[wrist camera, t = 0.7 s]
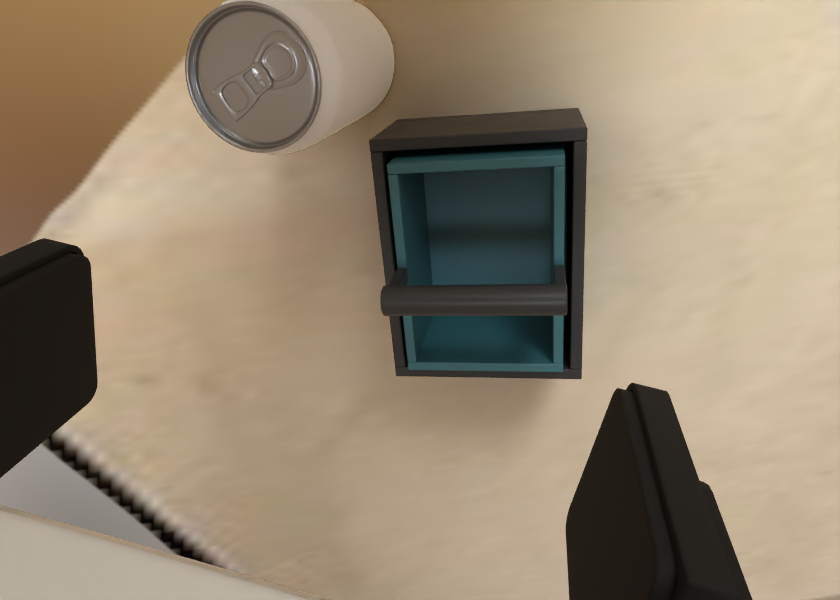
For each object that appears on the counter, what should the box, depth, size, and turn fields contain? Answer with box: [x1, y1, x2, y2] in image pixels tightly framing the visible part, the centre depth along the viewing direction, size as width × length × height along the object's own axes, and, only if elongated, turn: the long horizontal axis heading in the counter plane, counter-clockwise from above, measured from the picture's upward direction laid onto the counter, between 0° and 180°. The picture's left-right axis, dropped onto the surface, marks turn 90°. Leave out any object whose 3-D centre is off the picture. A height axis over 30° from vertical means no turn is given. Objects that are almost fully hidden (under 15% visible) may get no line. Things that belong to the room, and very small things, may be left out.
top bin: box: [381, 142, 567, 372], centre depth 32 cm, size 11×8×11 cm
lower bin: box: [369, 108, 587, 379], centre depth 34 cm, size 13×10×7 cm
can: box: [185, 0, 395, 155], centre depth 29 cm, size 6×6×12 cm
